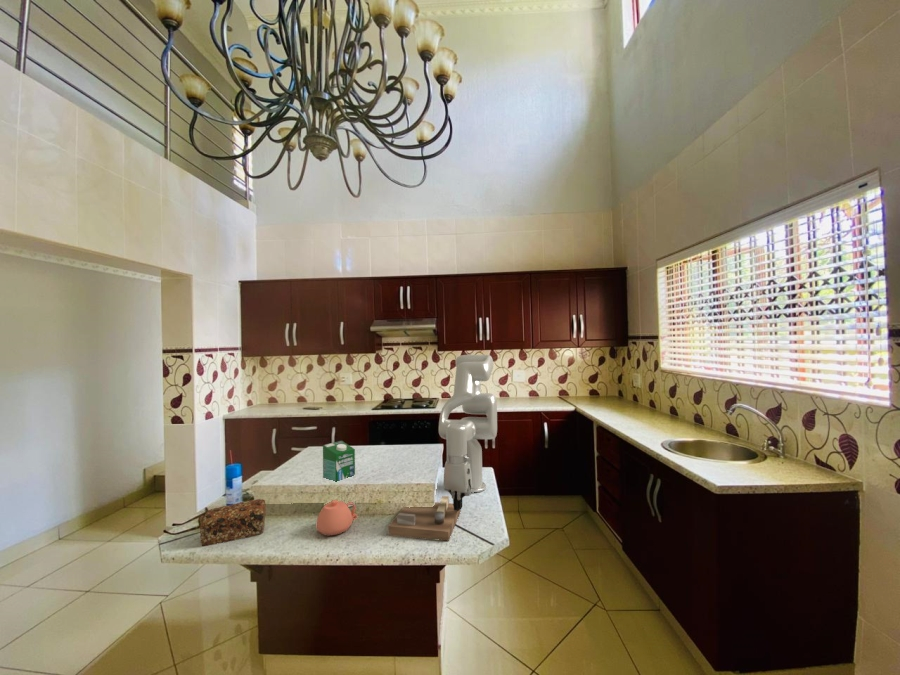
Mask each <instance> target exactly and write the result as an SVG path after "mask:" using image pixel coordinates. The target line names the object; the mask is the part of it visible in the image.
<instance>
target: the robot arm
mask: <svg viewBox="0 0 900 675" xmlns="http://www.w3.org/2000/svg"><path fill="white" fill-rule="evenodd" d="M455 367H456V369H455V377H454V387H453V394H452V396H450V398H449V399H447V400H446V402H445V403H444V405H443V407H442V408H441V411H440V415H439V421H438V434H439V437H440V438H441V439H444V440H446V461H445V464H444V469H443V486H444V491H446V492H448V493H449V495H450V497H451V499H452V504H453V506H454V510H456V511H459V510H460V509H461V510H462V509H463V498H464V497H469V496H471V495H472V494H475V493H474V492H477V493H482V492H483V490H484V491H485V490H486V489H487V485H486V484H487V483H485V482H483V451H482V450H483V449H482V446H481V443H480V442H479V441H478V440H494V439H496V437H497V435H498V434H497V433H498V404H497V397H496V396H495V395H494V394H493V393H487V392H486V393H485V392H483V393H482V390H481V382H487V381H489V380H490V378H491V376H492V372H493V369H494V360H493V357H492V356H491V355H490V354H463V355H458V356H456V358H455ZM461 406H462V411H463V412H464V413H465V414H468V415H469V414H470V415H486V417H484V416H483V417H481V416H480V417H479V416H467V417H462V418H461V419H449V416H450V414H451V413H452V412H453V410H455V409H456V408H458V407H461ZM471 492H472V493H471Z"/></svg>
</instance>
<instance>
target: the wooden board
mask: <svg viewBox="0 0 900 675" xmlns="http://www.w3.org/2000/svg"><path fill="white" fill-rule="evenodd" d="M434 502H435V501H434ZM439 504H440V502H438V501H437V502H435V505H434V506H433V507H410V508H409V507H404V506H403V507H402V509H400V511H398V513H397V515H396V516H395V517H394V518H393V519H392V520H391V522H390V524H389V525H388V529H387V530H388V536H395V537H403V538H414V539H415V538H416V539H423V538H426V539H425V540H432V539H439V540H438V541H442V540H447V541H446V542H449V541H450V539H451V537H452V534H453V532H454V530H455V527H456V525H457V523H458V520H459V518H458V517H460V515H461V513H462V511H461V510H462V508H461V509H460V510H459V511H456V510H454V506H453V503H450V502H449V504H448V507H447V510H446V514H445V517H444V523H442V524H436V523H435V512H437V509H438V506H439ZM460 512H461V513H460ZM457 519H458V520H457ZM455 524H456V525H455ZM453 529H454V530H453ZM450 536H451V537H450Z"/></svg>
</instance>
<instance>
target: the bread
mask: <svg viewBox="0 0 900 675" xmlns="http://www.w3.org/2000/svg"><path fill="white" fill-rule="evenodd" d="M201 518H202V519H201V522H200V525H199V532H200V536H199V537H200V543H201V544H200V545H201V547H207V546H210V545H217V543H218V544H222V543H223V542H224V543H226V542H232V541H237V540H240V539H245V538H251V537H255V536H258V535H260V534H262V533H264V529H265V520H266V500H264V499H263V498H262V499H261V498H258V499H251V500H247V501H243V502H242V501H241V502H237V503H234V504H230V505H228V504H227V505H223V506H220V507H219V506H218V507H215V508H212V509H209V510H208V511H206V513H205V514H204V515H203V516H202V517H201ZM224 543H223V544H224Z"/></svg>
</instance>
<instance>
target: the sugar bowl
mask: <svg viewBox="0 0 900 675" xmlns="http://www.w3.org/2000/svg"><path fill="white" fill-rule="evenodd" d="M348 505H353V506H352V511H351V508H350V507H348ZM355 512H356V503H355V504H354V503H353V502H349V503H347V504H346V503H345V502H343V501H338V500H332V501H331V502H329V503H327V504H325V505H324V507H322V509H321V510H320V511H319V514H318V516H317V518H316V519H317V520H316V523H315V528H316V530H317V531H318V532H319V533H320V534H322V535H324V536H326V535H331V536H336V535H340V534H342V532H343V533H346V532H347V531H348V529H349V528H350V527H351V526H352V524H353V521H356V519H357V518H358V514H357V513H355Z"/></svg>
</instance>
